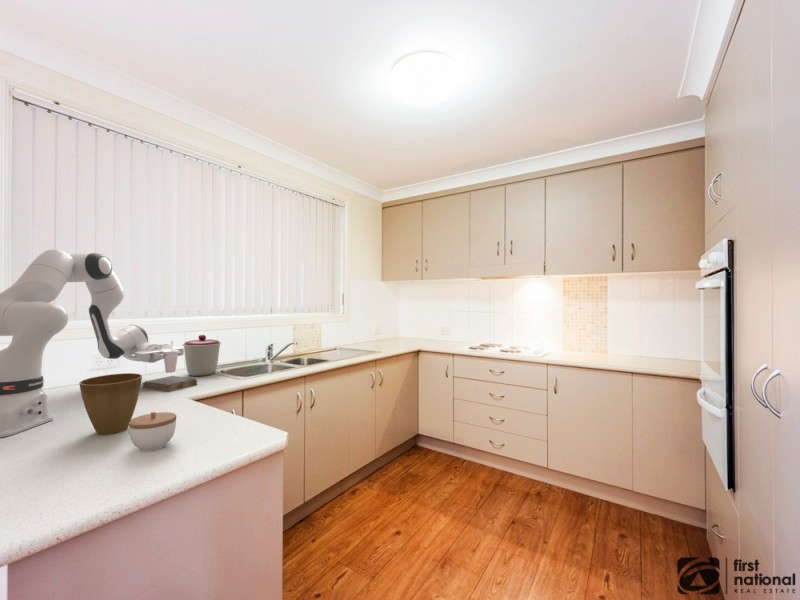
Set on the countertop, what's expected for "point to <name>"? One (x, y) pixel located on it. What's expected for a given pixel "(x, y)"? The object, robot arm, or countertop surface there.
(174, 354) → the smoothie
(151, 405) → the countertop surface
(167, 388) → the dark brown flat slab
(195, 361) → the canister
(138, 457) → the countertop surface
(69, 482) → the countertop surface
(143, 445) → the lidded jar
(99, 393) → the plant pot
